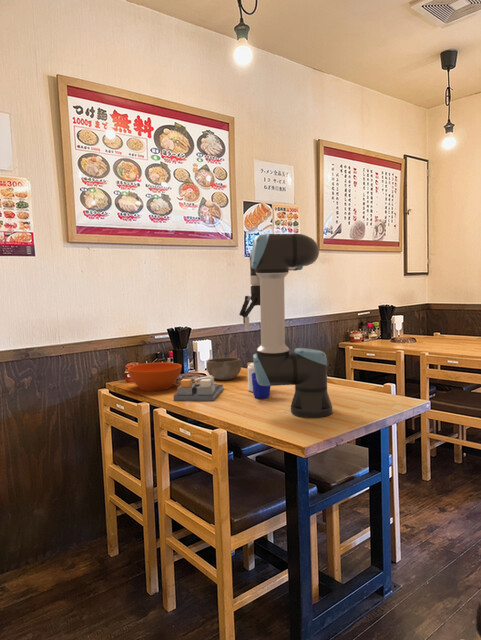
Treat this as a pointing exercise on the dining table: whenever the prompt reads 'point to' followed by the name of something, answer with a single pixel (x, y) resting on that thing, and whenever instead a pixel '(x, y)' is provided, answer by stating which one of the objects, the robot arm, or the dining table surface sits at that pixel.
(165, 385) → the bowl
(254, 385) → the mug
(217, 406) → the dining table surface
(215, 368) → the bowl
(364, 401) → the dining table surface
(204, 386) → the button ivory
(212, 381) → the slider knob
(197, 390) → the panel
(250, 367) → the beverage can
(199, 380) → the rocker
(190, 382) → the button orange
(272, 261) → the robot arm
